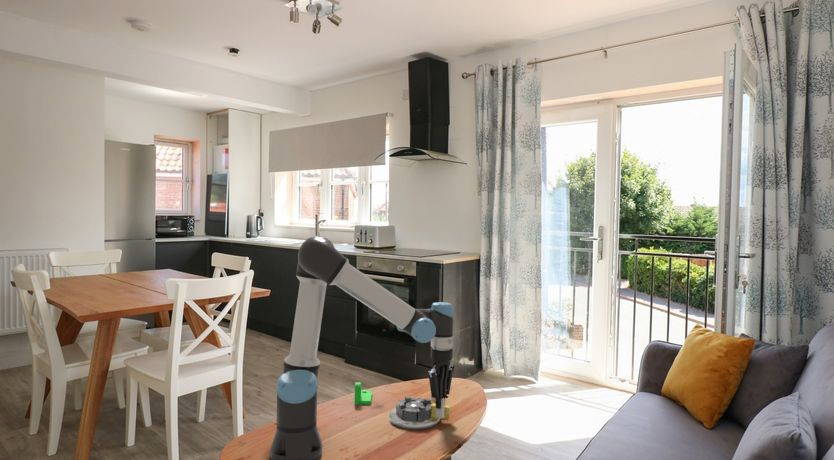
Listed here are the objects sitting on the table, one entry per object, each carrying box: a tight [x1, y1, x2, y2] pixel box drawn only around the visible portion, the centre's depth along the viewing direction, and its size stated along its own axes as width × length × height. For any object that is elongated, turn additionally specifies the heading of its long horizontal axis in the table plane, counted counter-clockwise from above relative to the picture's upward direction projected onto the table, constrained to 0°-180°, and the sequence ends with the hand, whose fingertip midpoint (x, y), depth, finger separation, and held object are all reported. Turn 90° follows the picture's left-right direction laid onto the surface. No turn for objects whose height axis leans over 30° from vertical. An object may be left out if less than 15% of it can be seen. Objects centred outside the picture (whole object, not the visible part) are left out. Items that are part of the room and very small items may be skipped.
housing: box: [388, 396, 441, 431], centre depth 171 cm, size 21×18×6 cm
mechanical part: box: [354, 382, 373, 406], centre depth 188 cm, size 12×6×8 cm, turn 2°
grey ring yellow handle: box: [395, 395, 451, 421], centre depth 170 cm, size 19×12×4 cm, turn 75°
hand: (440, 417), depth 166 cm, fingers closed
